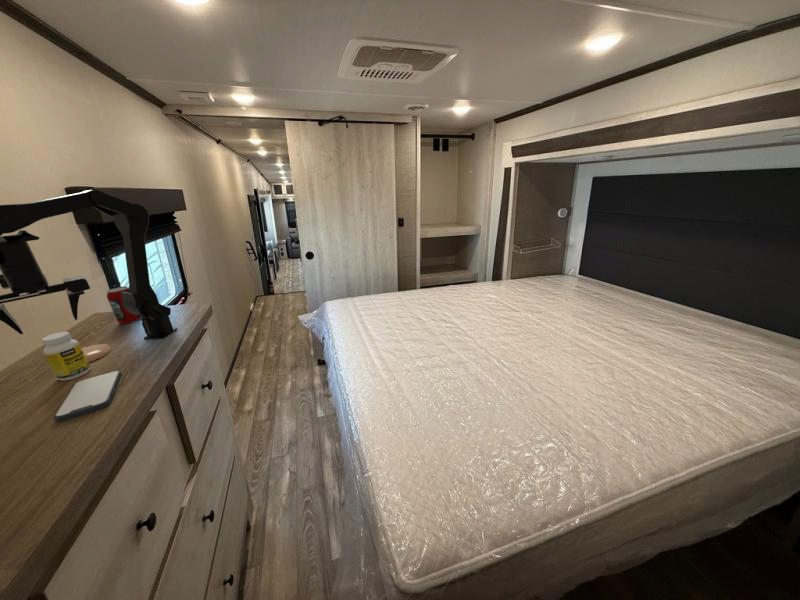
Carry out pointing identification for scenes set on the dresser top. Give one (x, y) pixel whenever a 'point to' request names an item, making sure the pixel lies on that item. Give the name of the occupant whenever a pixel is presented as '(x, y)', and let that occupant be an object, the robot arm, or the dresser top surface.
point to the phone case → (88, 396)
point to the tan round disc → (96, 351)
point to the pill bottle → (65, 356)
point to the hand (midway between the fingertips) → (50, 326)
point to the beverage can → (120, 306)
